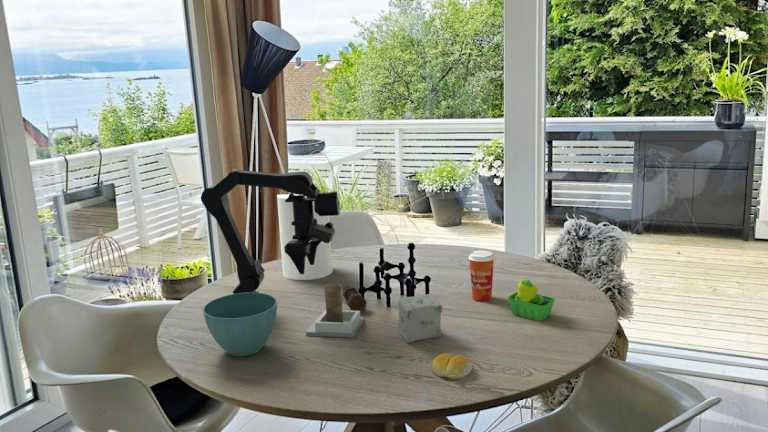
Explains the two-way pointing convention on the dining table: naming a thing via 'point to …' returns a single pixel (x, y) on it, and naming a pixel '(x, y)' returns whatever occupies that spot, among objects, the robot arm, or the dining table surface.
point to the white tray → (336, 325)
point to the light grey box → (419, 317)
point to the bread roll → (451, 366)
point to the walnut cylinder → (333, 303)
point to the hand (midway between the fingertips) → (307, 269)
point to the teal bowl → (241, 321)
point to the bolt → (354, 298)
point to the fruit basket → (530, 302)
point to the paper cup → (481, 275)
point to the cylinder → (285, 213)
